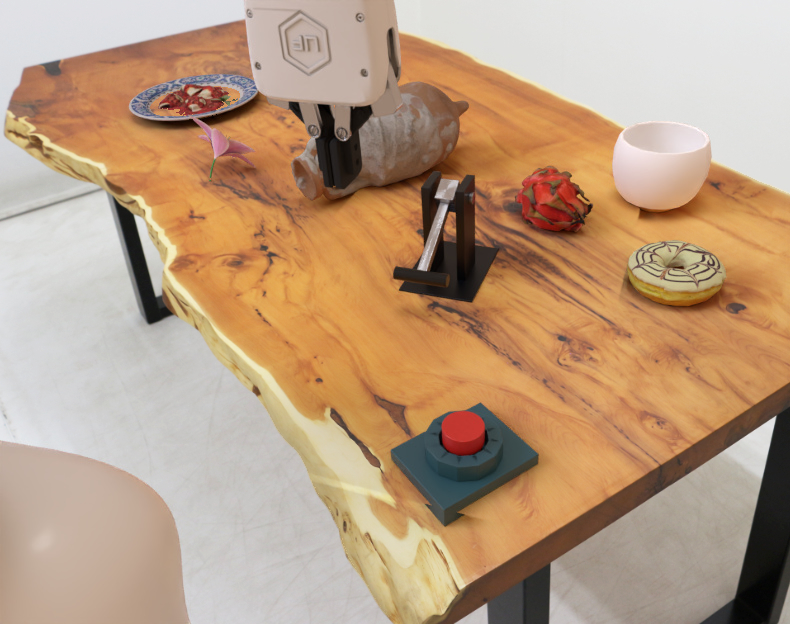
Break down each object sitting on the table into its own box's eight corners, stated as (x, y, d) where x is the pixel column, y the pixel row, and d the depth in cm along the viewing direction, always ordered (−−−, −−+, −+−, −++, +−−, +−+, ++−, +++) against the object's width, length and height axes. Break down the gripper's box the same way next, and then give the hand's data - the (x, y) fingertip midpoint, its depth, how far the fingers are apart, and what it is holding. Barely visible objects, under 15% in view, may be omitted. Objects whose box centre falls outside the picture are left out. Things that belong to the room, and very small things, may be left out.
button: (459, 462, 59) (458, 448, 58) (433, 437, 61) (433, 422, 60) (493, 443, 60) (493, 429, 59) (467, 419, 63) (467, 404, 62)
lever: (447, 292, 76) (444, 280, 74) (395, 284, 78) (390, 272, 76) (478, 195, 82) (475, 181, 80) (428, 189, 84) (425, 176, 82)
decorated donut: (734, 276, 83) (741, 249, 81) (702, 323, 77) (709, 294, 75) (647, 252, 89) (652, 225, 87) (611, 293, 82) (615, 266, 80)
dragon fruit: (527, 214, 102) (577, 263, 94) (489, 197, 96) (538, 247, 88) (564, 164, 99) (619, 211, 91) (526, 144, 93) (581, 191, 85)
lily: (262, 190, 113) (271, 129, 111) (186, 178, 108) (194, 113, 106) (244, 185, 123) (251, 129, 122) (174, 174, 118) (181, 115, 117)
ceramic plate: (104, 120, 141) (99, 105, 139) (193, 79, 159) (190, 65, 157) (201, 138, 130) (198, 122, 128) (286, 91, 147) (283, 77, 146)
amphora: (497, 81, 106) (313, 90, 91) (492, 188, 112) (319, 213, 97) (444, 77, 117) (272, 84, 103) (442, 175, 123) (280, 195, 108)
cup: (637, 175, 106) (646, 112, 100) (717, 199, 98) (732, 132, 93) (590, 206, 99) (596, 140, 94) (672, 234, 92) (685, 165, 86)
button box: (444, 527, 58) (443, 495, 56) (391, 466, 64) (388, 435, 61) (537, 471, 62) (540, 439, 60) (480, 418, 68) (480, 387, 65)
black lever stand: (472, 309, 82) (471, 210, 74) (399, 297, 85) (391, 200, 77) (498, 256, 91) (500, 162, 83) (431, 246, 94) (427, 155, 86)
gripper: (179, -71, 45) (236, 191, 56) (395, -74, 40) (413, 215, 51) (243, -89, 51) (284, 152, 62) (440, -94, 46) (447, 171, 56)
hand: (342, 180), depth 56 cm, fingers closed
